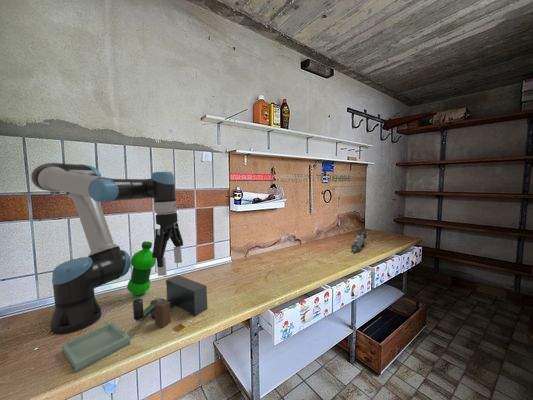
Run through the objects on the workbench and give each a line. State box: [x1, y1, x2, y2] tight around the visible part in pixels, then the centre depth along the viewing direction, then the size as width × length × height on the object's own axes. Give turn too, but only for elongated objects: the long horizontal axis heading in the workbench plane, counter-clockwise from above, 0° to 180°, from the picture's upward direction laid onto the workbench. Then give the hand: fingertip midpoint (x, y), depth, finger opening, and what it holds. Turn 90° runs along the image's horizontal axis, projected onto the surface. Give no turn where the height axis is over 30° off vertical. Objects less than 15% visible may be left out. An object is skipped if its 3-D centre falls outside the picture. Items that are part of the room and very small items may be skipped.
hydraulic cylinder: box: [350, 230, 369, 253], centre depth 178 cm, size 7×37×10 cm, turn 147°
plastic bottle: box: [126, 241, 157, 296], centre depth 108 cm, size 10×10×25 cm
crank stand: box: [150, 275, 208, 332], centre depth 93 cm, size 23×16×10 cm
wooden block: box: [154, 299, 172, 328], centre depth 85 cm, size 4×4×8 cm
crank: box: [132, 297, 165, 322], centre depth 86 cm, size 15×5×7 cm, turn 174°
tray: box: [61, 321, 131, 373], centre depth 73 cm, size 14×14×2 cm
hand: (171, 268), depth 88 cm, fingers open, 13 cm apart
